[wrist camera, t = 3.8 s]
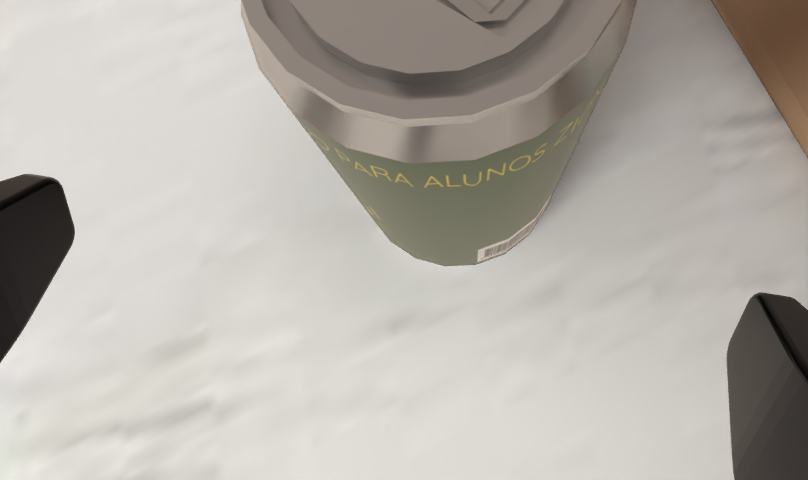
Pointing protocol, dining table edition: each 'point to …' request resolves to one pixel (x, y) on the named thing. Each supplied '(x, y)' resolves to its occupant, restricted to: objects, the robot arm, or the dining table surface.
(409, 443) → the dining table surface
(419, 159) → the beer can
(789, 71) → the board
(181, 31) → the dining table surface
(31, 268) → the robot arm
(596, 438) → the dining table surface
